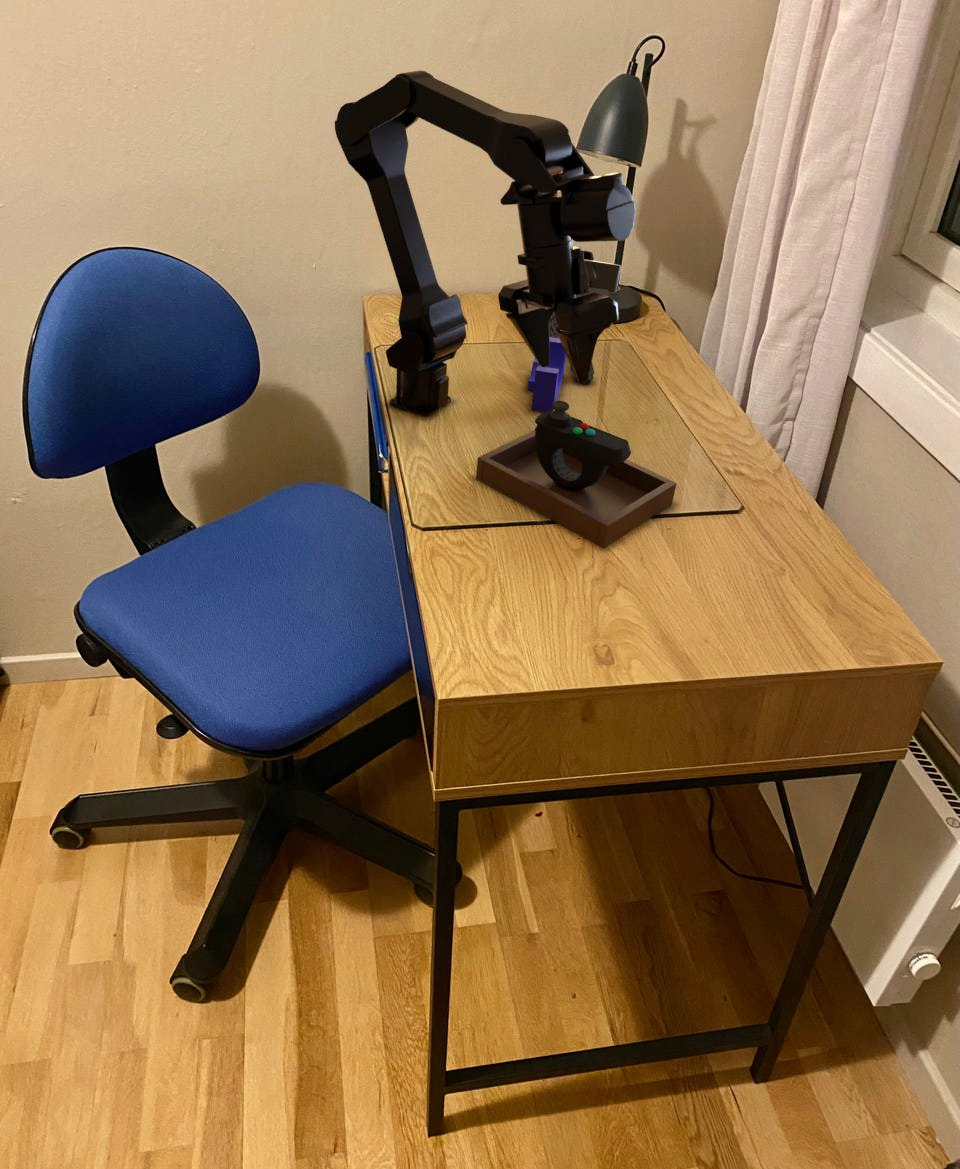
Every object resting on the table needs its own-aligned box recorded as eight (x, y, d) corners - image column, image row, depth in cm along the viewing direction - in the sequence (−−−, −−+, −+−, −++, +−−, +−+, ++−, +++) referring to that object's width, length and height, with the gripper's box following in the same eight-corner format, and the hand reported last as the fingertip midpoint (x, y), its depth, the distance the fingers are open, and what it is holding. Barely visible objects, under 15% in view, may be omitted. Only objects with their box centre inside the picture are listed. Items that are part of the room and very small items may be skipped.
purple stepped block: (533, 373, 144) (537, 335, 141) (563, 377, 144) (568, 340, 140) (521, 408, 135) (525, 368, 131) (552, 413, 134) (557, 373, 131)
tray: (475, 479, 119) (477, 457, 117) (547, 443, 127) (549, 422, 125) (603, 548, 109) (607, 526, 107) (672, 504, 117) (677, 482, 115)
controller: (542, 462, 122) (550, 391, 116) (626, 497, 117) (640, 424, 110) (523, 475, 119) (531, 402, 113) (609, 511, 114) (622, 437, 108)
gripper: (653, 233, 104) (662, 371, 112) (566, 220, 120) (580, 342, 127) (565, 257, 101) (581, 397, 109) (487, 241, 116) (506, 365, 124)
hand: (563, 373), depth 117 cm, fingers open, 9 cm apart
